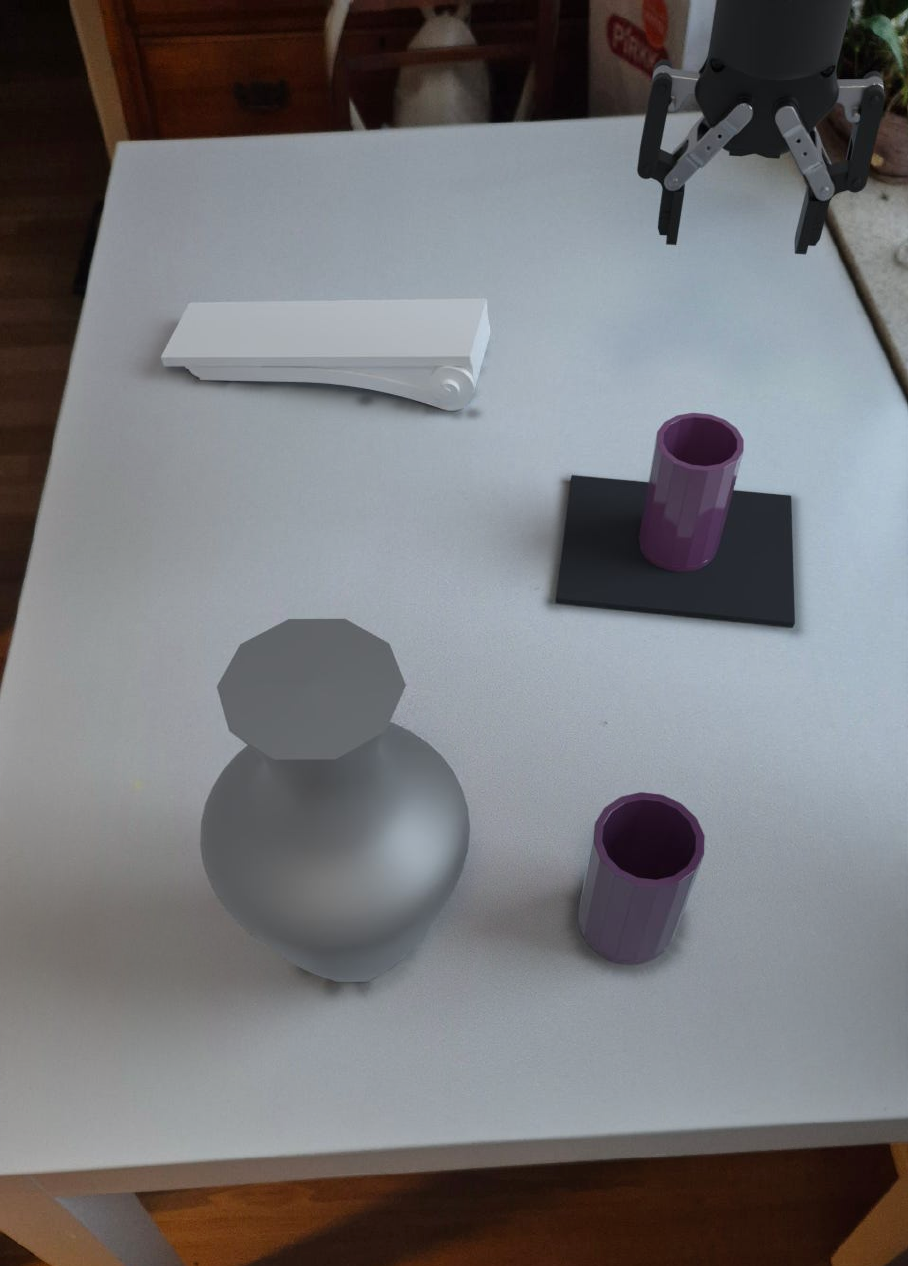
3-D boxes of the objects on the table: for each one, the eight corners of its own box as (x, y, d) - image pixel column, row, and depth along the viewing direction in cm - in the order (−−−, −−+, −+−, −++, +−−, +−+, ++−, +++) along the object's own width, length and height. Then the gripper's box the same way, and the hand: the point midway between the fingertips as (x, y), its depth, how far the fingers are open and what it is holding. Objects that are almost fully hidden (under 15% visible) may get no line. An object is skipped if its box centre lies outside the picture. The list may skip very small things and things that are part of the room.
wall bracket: (188, 426, 107) (480, 429, 101) (156, 372, 100) (467, 372, 94) (211, 339, 110) (495, 338, 104) (181, 282, 103) (483, 276, 97)
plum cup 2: (677, 883, 74) (705, 799, 65) (674, 970, 70) (703, 893, 62) (582, 872, 74) (597, 786, 66) (574, 958, 71) (590, 879, 63)
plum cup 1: (717, 520, 91) (744, 416, 83) (716, 576, 88) (743, 474, 80) (640, 512, 92) (658, 409, 83) (636, 568, 88) (654, 465, 80)
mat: (789, 500, 93) (791, 495, 93) (793, 627, 86) (795, 622, 85) (570, 480, 95) (571, 474, 94) (555, 603, 87) (556, 598, 87)
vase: (228, 1044, 68) (125, 821, 47) (250, 839, 76) (171, 568, 55) (469, 1043, 68) (474, 819, 47) (467, 838, 76) (470, 567, 55)
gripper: (658, -18, 62) (625, 267, 75) (929, -6, 60) (846, 282, 74) (665, -73, 66) (632, 207, 79) (918, -62, 64) (841, 220, 78)
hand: (735, 243), depth 76 cm, fingers open, 8 cm apart
